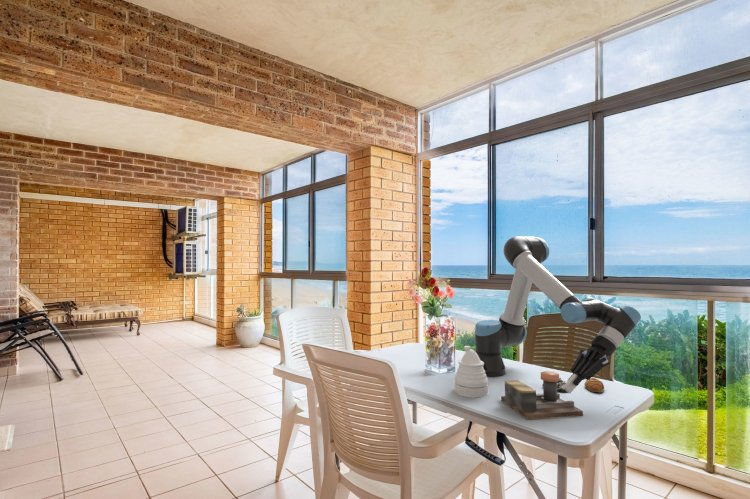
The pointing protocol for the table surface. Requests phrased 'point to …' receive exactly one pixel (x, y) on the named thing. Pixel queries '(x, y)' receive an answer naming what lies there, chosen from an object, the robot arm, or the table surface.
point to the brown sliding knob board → (536, 403)
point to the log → (561, 386)
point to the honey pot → (471, 376)
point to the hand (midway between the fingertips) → (566, 390)
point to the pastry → (594, 385)
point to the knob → (549, 386)
